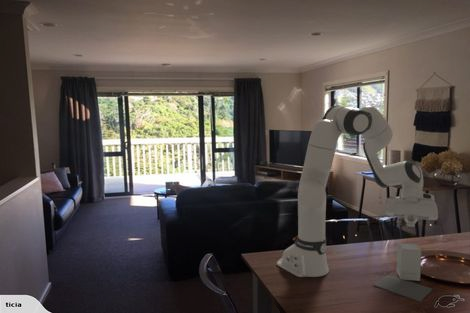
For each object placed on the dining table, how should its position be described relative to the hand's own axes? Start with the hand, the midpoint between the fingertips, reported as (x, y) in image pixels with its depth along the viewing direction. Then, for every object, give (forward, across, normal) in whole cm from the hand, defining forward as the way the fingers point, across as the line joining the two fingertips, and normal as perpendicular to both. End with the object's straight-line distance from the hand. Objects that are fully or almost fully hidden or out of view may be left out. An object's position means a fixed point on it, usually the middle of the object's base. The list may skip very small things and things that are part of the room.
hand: (410, 226), depth 152 cm
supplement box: (+20, 0, +5) cm, 21 cm away
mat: (+28, -2, -3) cm, 28 cm away
